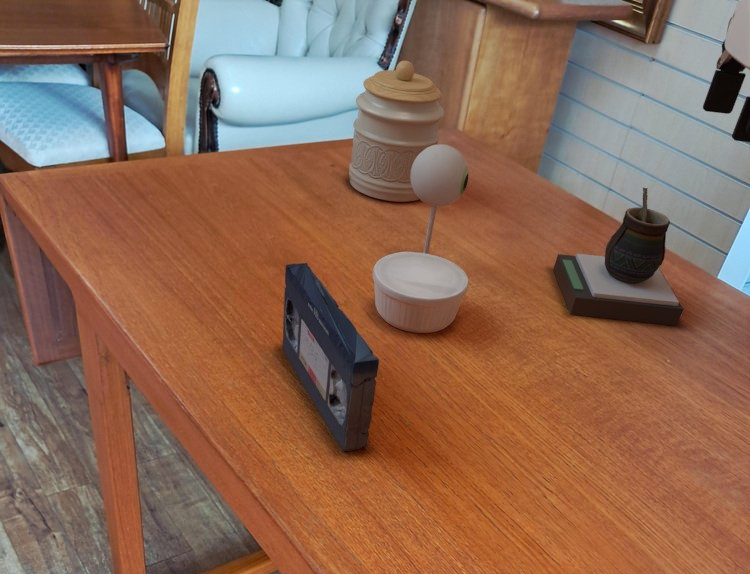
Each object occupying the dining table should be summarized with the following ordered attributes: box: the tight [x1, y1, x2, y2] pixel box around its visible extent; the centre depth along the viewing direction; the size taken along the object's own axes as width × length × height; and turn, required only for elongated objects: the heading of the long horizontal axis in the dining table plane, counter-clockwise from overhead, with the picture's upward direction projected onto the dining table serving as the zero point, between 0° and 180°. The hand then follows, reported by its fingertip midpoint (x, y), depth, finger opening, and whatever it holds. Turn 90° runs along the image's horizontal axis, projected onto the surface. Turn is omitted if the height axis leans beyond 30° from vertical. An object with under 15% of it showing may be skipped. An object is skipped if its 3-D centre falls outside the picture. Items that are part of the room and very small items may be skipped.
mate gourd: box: [604, 187, 671, 284], centre depth 99 cm, size 7×8×10 cm
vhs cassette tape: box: [282, 262, 380, 452], centre depth 76 cm, size 18×3×10 cm, turn 22°
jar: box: [348, 60, 445, 203], centre depth 117 cm, size 13×13×18 cm
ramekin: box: [372, 251, 469, 334], centre depth 93 cm, size 11×11×5 cm
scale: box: [552, 252, 685, 327], centre depth 103 cm, size 14×12×3 cm
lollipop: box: [411, 143, 469, 254], centre depth 100 cm, size 7×7×15 cm
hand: (730, 125), depth 84 cm, fingers open, 9 cm apart
